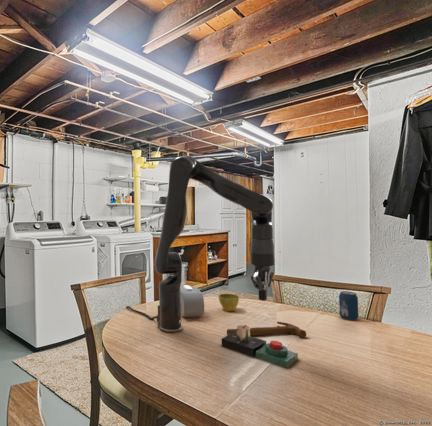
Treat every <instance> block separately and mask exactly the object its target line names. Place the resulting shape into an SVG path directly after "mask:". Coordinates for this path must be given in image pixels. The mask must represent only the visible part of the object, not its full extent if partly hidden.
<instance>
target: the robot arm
mask: <svg viewBox="0 0 432 426" xmlns="http://www.w3.org/2000/svg"><path fill="white" fill-rule="evenodd" d="M190 180H193V181H196V182H199V183H201V184H203V185H204V186H206V187H207V188H209V189H210V190H211V191H213V192H214V193H215V194H217V195H218V196H220V197H221V198H223V199H225V200H228V201H229V202H231V203H233V204H234V205H239V206H240V207H242V208H244V209H245V210H247V211H250V213H251V214H250V216H251V227H250V264H251V265H252V266H254V271H253V272H254V275H250V280H251V281H252V284H253V286H254V289H257V290H258V300H259V301H262V302H265V301H267V300H268V289H269V288H270V287H271V284H272V280H273V277H274V272H273V271H271V267H273V266H275V243H274V227H273V223H272V222H273V221H272V220H273V208H274V203H273V201H272V199H271V198H270V197H268V196H266V195H265V194H262V193H259V192H257V191H255V190H252V189H249V188H248V187H246V186H245V185H242V184H240V183H238V182H236V181H234V180H233V179H230V178H228V177H225V176H223V175H222V174H219V173H217V172H215V171H213V170H212V169H210V168H209V167H207V166H206V165H204V164H202V163H201V162H200V161H198V160H197V159H195V158H194V157H192V156H190V155H182V156H178V157H176V158H174V159H173V160H172V161H171V163H170V166H169V173H168V188H167V189H168V190H167V195H166V199H165V200H166V201H165V207H164V211H163V216H162V222H161V223H162V225H161V231H160V237H159V241H158V245H157V249H156V253H155V257H154V269H155V272H156V273H157V274H159V275H168V276H166V278H164V279H162V280H161V281H160V282H159V283H158V301H159V303H158V305H157V314H156V315H154V316H152V317H151V316H149V315H148V314H147V313H145V312H142V311H139V310H136V309H134V308H132V307H131V306H130V305H127V306H125V309H129V310H131V311H132V312H134V313H137V314H141V315H144V316H145V317H146V318H147V319H149V320H151V321H153V320H155V319H156V322H157V327H158V328H159V330H161V331H163V332H165V333H177V332H180V331H181V330H182V323H183V318H182V315H181V293H180V286H182V277H183V275H182V272H183V261H182V257H181V255H180V253H178V252H176V251H170V249H171V247H172V245H173V244H174V242H176V240H177V239H178V237H179V236H180V235H181V234H182V232H183V231H184V229H185V226H186V221H187V215H188V203H187V190H188V186H189V182H190Z"/></svg>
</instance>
